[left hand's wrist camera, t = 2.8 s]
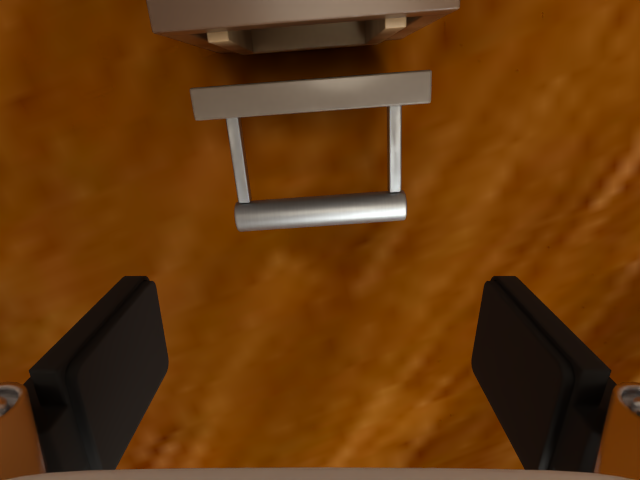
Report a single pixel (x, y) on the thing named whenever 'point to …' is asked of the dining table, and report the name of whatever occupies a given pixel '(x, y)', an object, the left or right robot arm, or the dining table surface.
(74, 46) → the dining table surface
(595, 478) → the left robot arm
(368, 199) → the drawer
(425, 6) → the dark brown low box
